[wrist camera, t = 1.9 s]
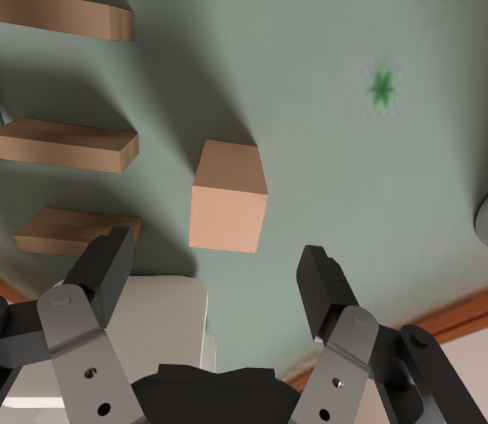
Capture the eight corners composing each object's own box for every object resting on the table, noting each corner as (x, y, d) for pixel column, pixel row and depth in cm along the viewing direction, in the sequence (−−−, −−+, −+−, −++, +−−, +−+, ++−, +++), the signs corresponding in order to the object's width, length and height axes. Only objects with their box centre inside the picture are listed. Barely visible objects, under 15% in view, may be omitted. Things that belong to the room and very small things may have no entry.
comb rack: (133, 12, 17) (108, 5, 14) (141, 231, 26) (127, 261, 22) (-9, -14, 17) (-72, -28, 13) (48, 222, 25) (18, 251, 22)
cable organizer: (218, 271, 29) (209, 395, 19) (217, 337, 34) (209, 460, 24) (63, 268, 28) (-32, 395, 18) (88, 336, 33) (25, 463, 23)
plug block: (257, 146, 22) (268, 194, 15) (249, 192, 24) (255, 253, 17) (205, 139, 22) (192, 185, 15) (201, 186, 24) (188, 246, 17)
